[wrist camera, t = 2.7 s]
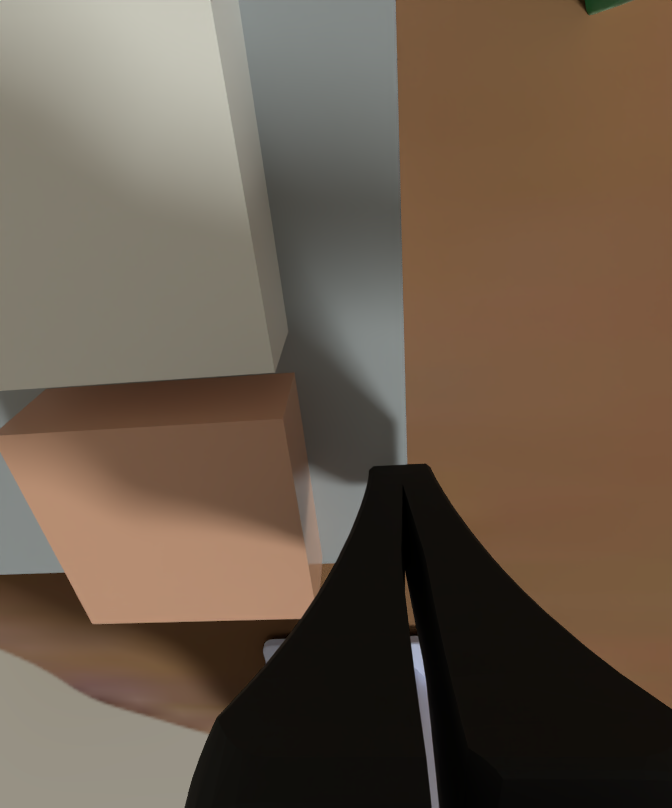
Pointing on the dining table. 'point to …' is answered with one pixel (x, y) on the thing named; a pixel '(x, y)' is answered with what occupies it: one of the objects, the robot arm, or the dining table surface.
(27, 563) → the board
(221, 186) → the cream tile
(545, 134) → the dining table surface
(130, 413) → the terracotta tile
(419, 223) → the dining table surface
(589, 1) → the printed cardboard box
